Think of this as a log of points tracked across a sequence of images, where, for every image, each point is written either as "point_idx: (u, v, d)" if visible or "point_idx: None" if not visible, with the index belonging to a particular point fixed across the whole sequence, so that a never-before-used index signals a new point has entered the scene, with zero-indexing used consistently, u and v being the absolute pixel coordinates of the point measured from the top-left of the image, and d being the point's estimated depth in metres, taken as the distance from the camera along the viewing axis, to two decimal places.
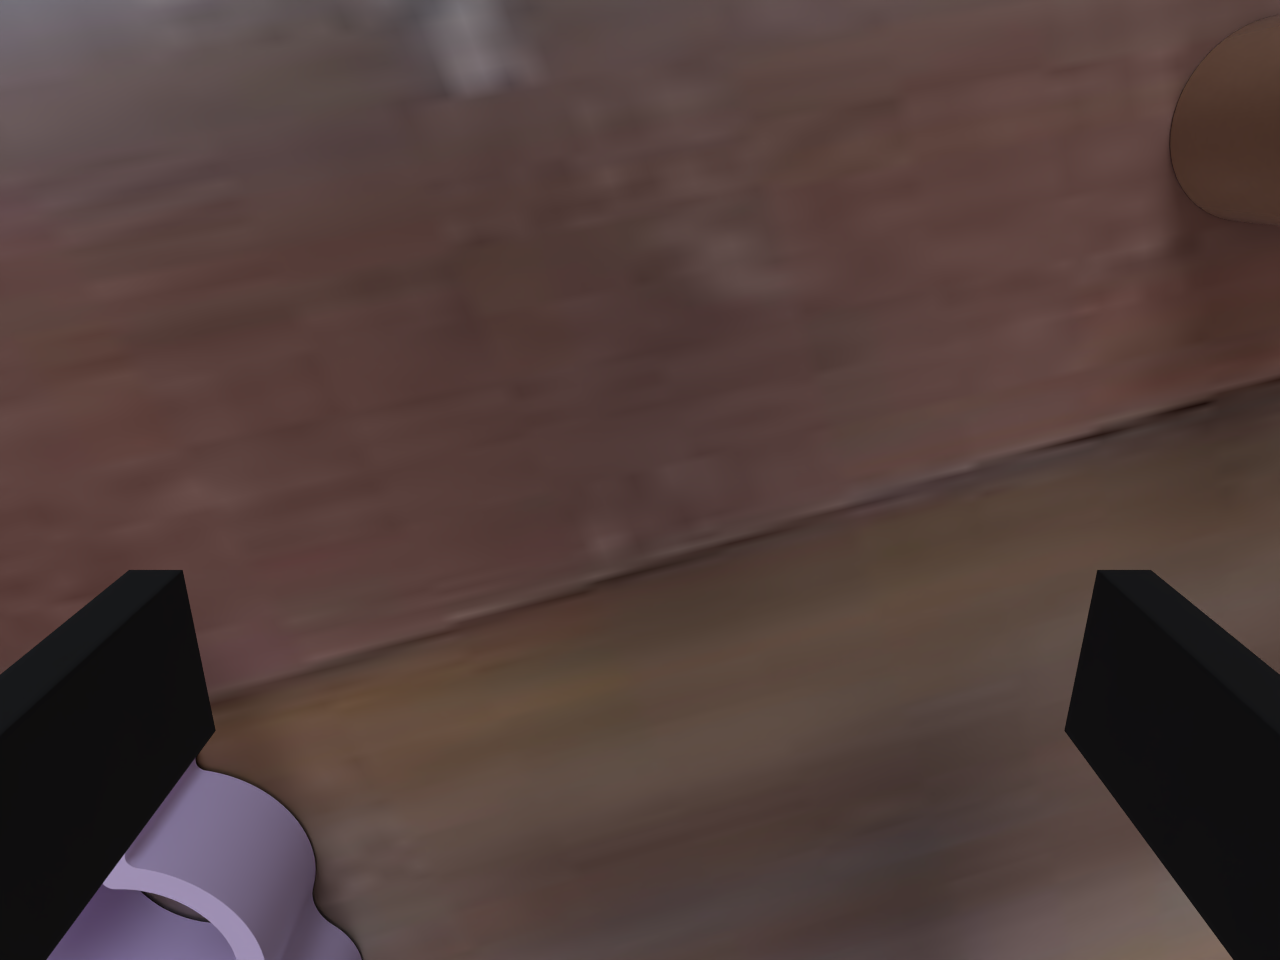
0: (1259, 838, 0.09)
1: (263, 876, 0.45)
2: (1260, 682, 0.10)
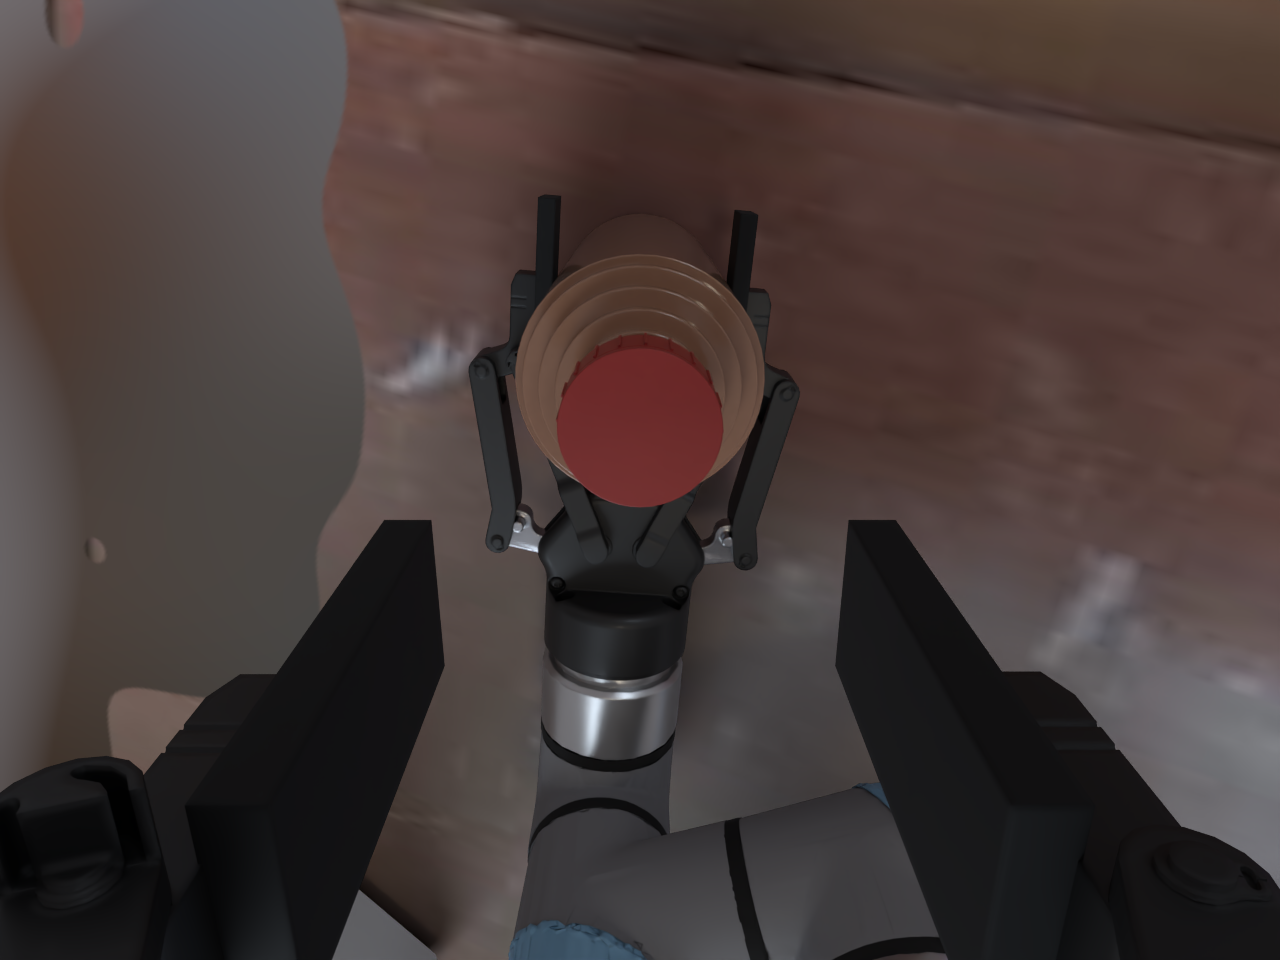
0: (911, 730, 0.11)
1: None
2: (929, 604, 0.11)
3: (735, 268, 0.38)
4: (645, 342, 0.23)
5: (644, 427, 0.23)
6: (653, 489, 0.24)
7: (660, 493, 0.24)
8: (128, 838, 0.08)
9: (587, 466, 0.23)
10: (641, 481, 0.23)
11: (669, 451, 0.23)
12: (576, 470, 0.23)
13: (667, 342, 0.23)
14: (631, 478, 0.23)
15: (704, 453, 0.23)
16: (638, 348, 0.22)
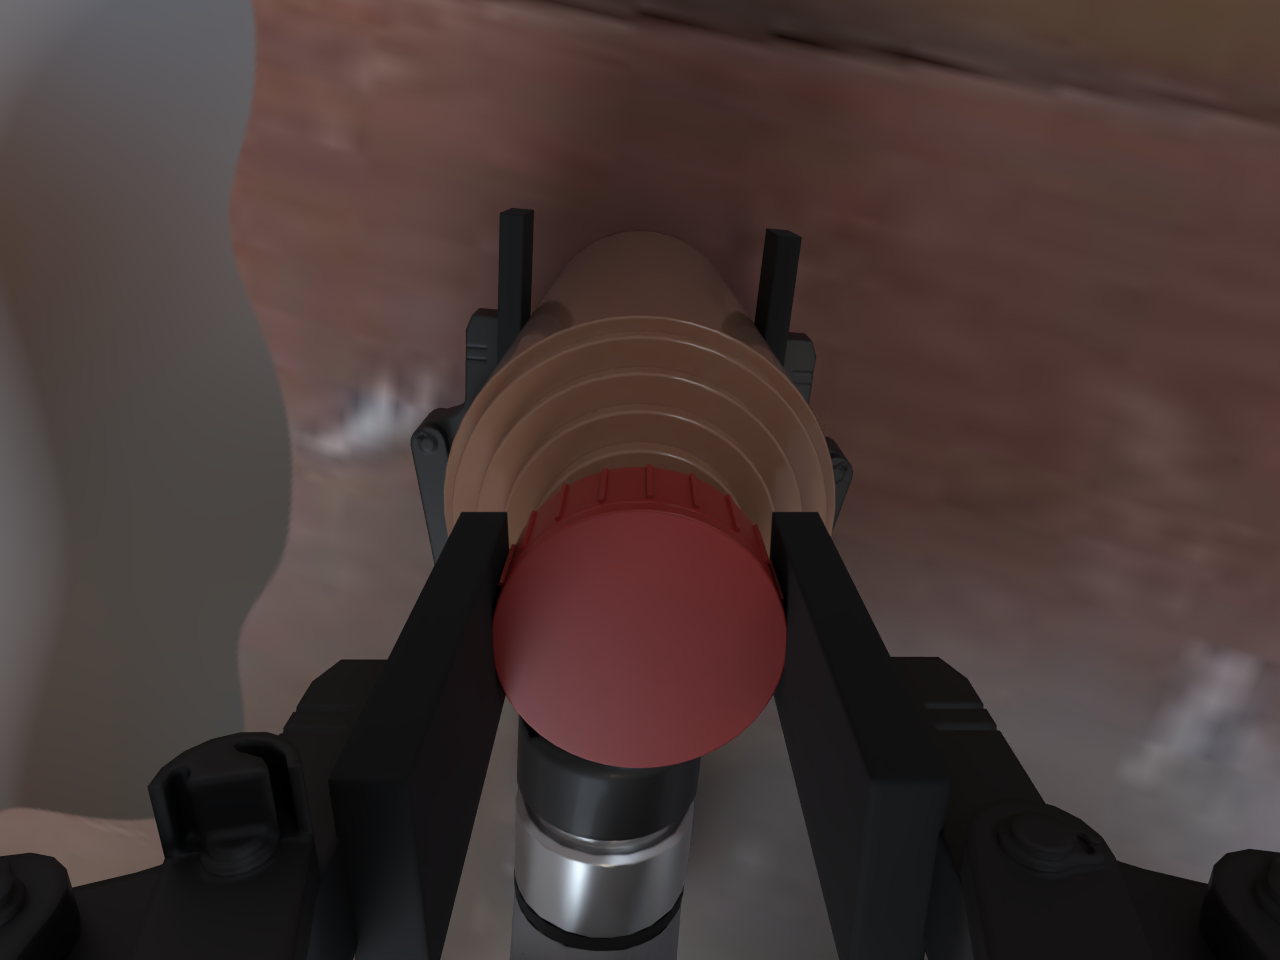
0: (810, 714, 0.11)
1: None
2: (833, 592, 0.12)
3: (769, 309, 0.28)
4: (649, 493, 0.13)
5: (647, 642, 0.13)
6: (663, 740, 0.13)
7: (675, 747, 0.13)
8: (282, 813, 0.08)
9: (546, 704, 0.13)
10: (642, 728, 0.13)
11: (691, 680, 0.13)
12: (527, 711, 0.13)
13: (687, 483, 0.13)
14: (624, 723, 0.13)
15: (753, 684, 0.13)
16: (636, 509, 0.12)
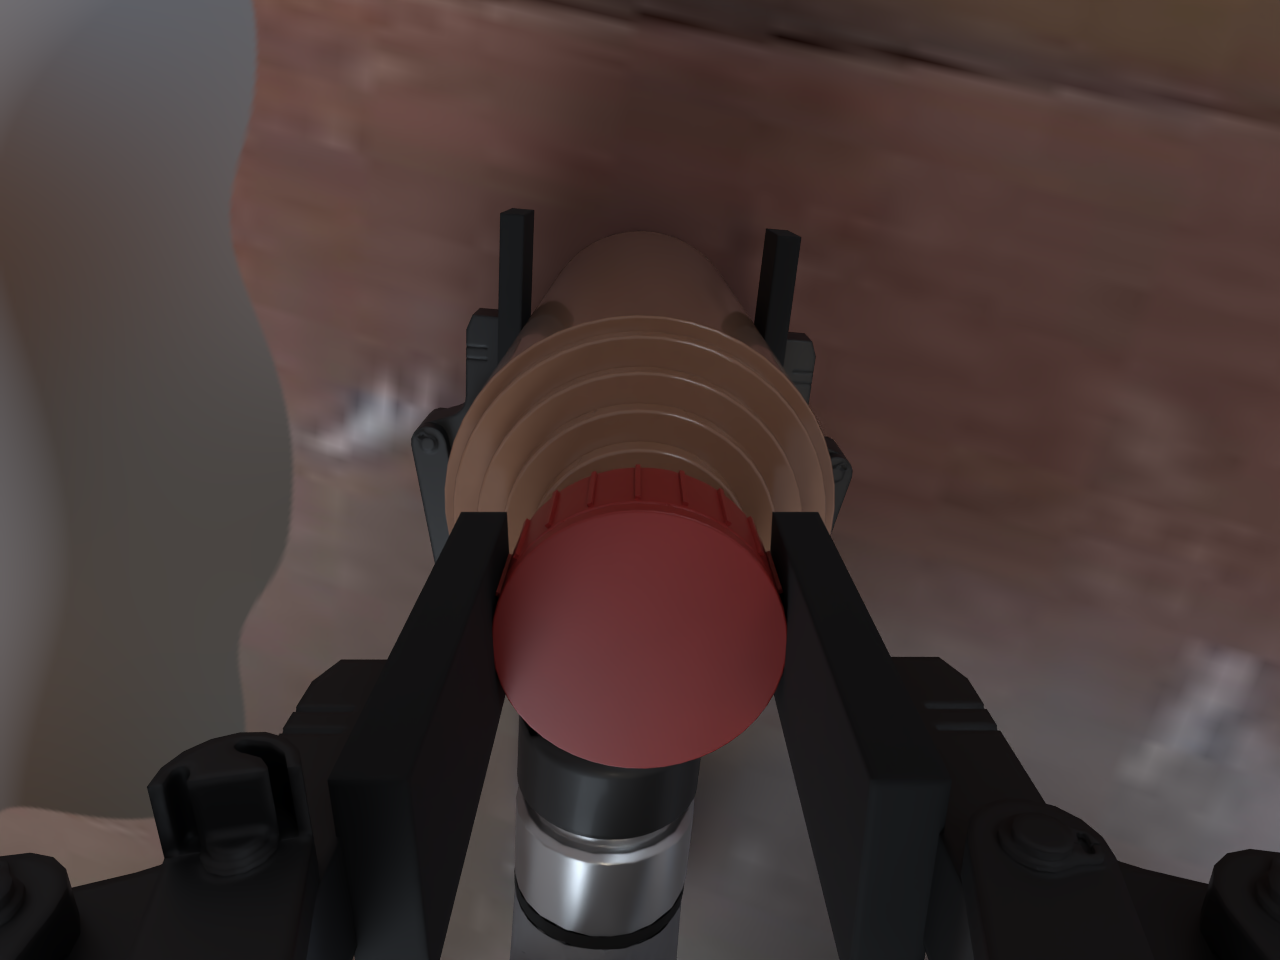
0: (810, 714, 0.11)
1: None
2: (834, 591, 0.12)
3: (769, 309, 0.28)
4: (496, 592, 0.13)
5: (635, 639, 0.13)
6: (754, 649, 0.13)
7: (765, 640, 0.13)
8: (281, 813, 0.08)
9: (681, 738, 0.13)
10: (733, 664, 0.13)
11: (691, 609, 0.13)
12: (683, 755, 0.14)
13: None
14: (723, 678, 0.13)
15: (711, 554, 0.12)
16: (494, 618, 0.13)
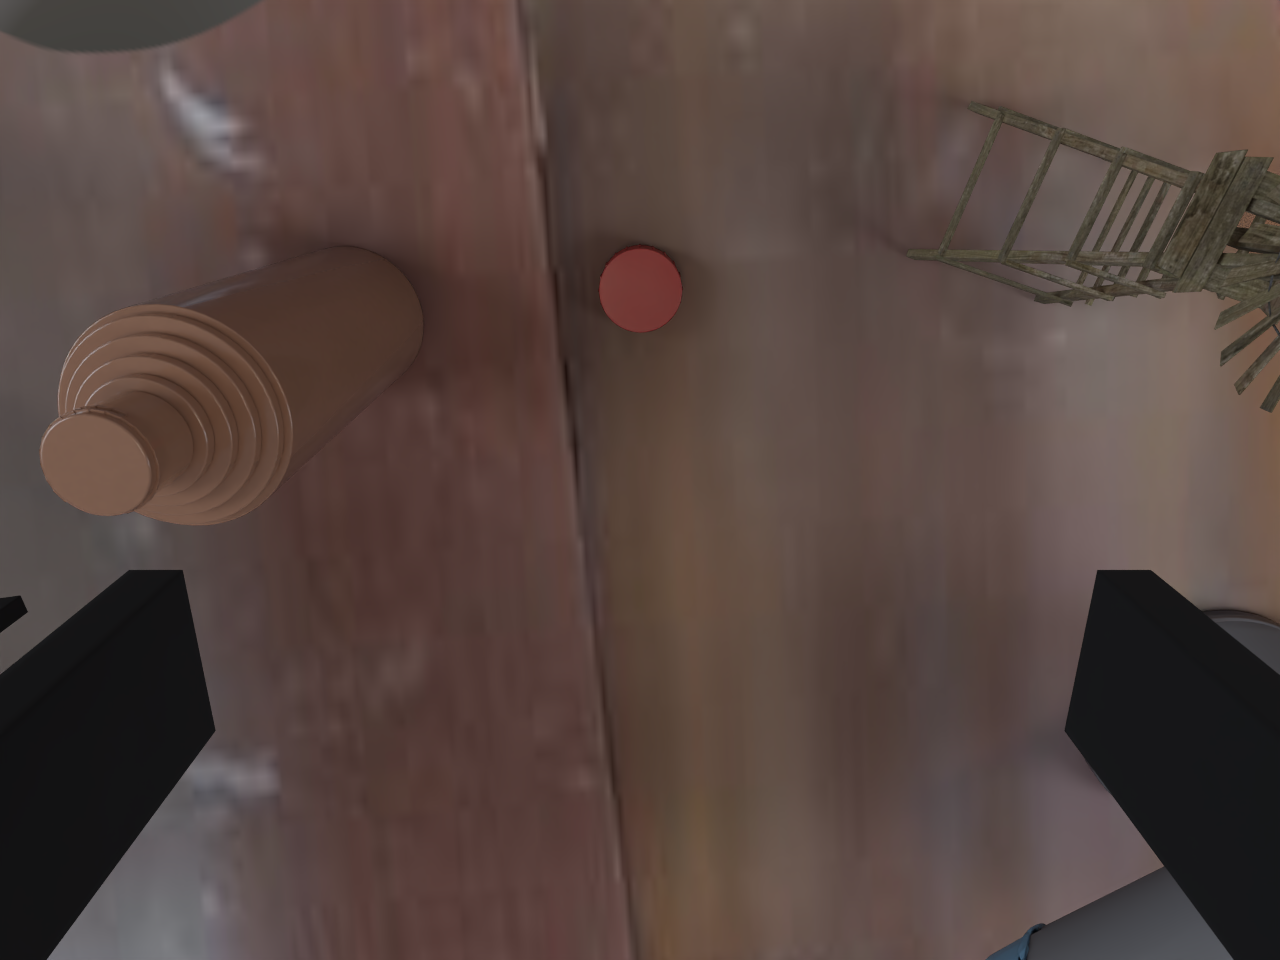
0: (1259, 838, 0.09)
1: None
2: (1260, 682, 0.10)
3: None
4: (626, 249, 0.46)
5: (641, 288, 0.46)
6: (658, 317, 0.47)
7: (663, 318, 0.47)
8: None
9: (623, 319, 0.47)
10: (651, 315, 0.47)
11: (658, 295, 0.46)
12: (619, 323, 0.47)
13: (638, 246, 0.47)
14: (646, 316, 0.47)
15: (675, 289, 0.46)
16: (623, 252, 0.45)
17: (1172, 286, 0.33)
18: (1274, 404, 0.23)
